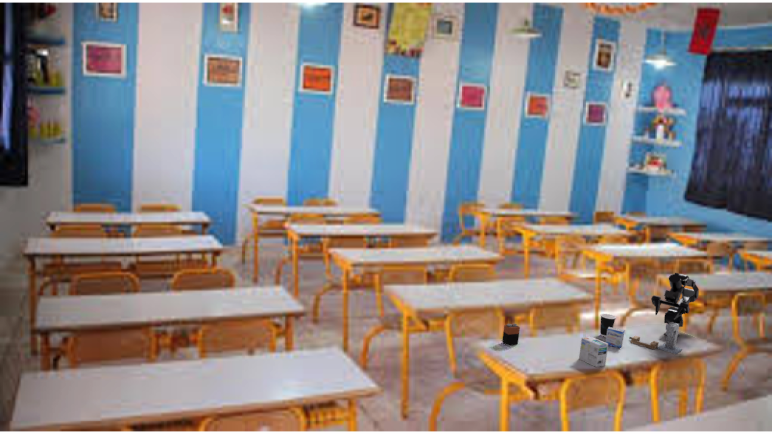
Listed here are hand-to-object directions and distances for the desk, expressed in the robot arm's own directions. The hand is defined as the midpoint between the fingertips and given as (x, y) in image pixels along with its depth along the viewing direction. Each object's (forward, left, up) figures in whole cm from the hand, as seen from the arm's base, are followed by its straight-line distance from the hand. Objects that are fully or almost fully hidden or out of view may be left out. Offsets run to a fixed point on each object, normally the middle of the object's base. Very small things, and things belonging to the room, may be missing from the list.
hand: (664, 317), depth 344 cm
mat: (+9, +8, -14) cm, 18 cm away
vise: (+13, -5, -14) cm, 20 cm away
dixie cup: (+18, -23, -14) cm, 32 cm away
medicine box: (+29, -14, -14) cm, 35 cm away
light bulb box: (+62, -11, -14) cm, 64 cm away
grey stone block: (+10, +7, -13) cm, 18 cm away
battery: (+73, -48, -14) cm, 89 cm away
